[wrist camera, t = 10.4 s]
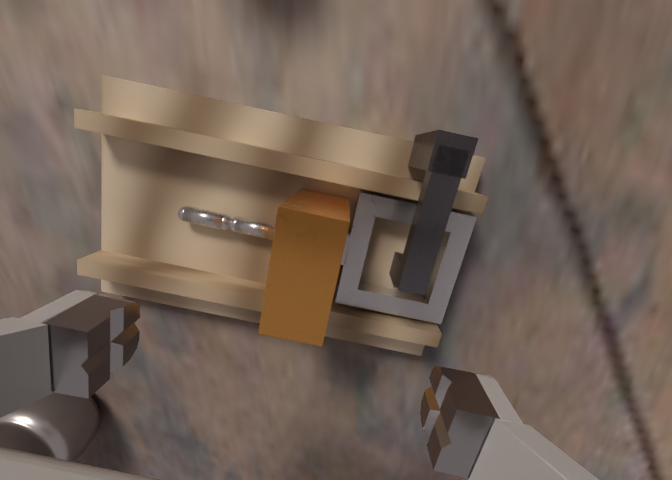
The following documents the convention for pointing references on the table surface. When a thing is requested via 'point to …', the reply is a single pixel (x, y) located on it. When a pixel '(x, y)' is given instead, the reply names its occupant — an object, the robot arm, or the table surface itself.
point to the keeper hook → (431, 205)
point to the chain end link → (337, 260)
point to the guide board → (240, 203)
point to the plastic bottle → (52, 426)
